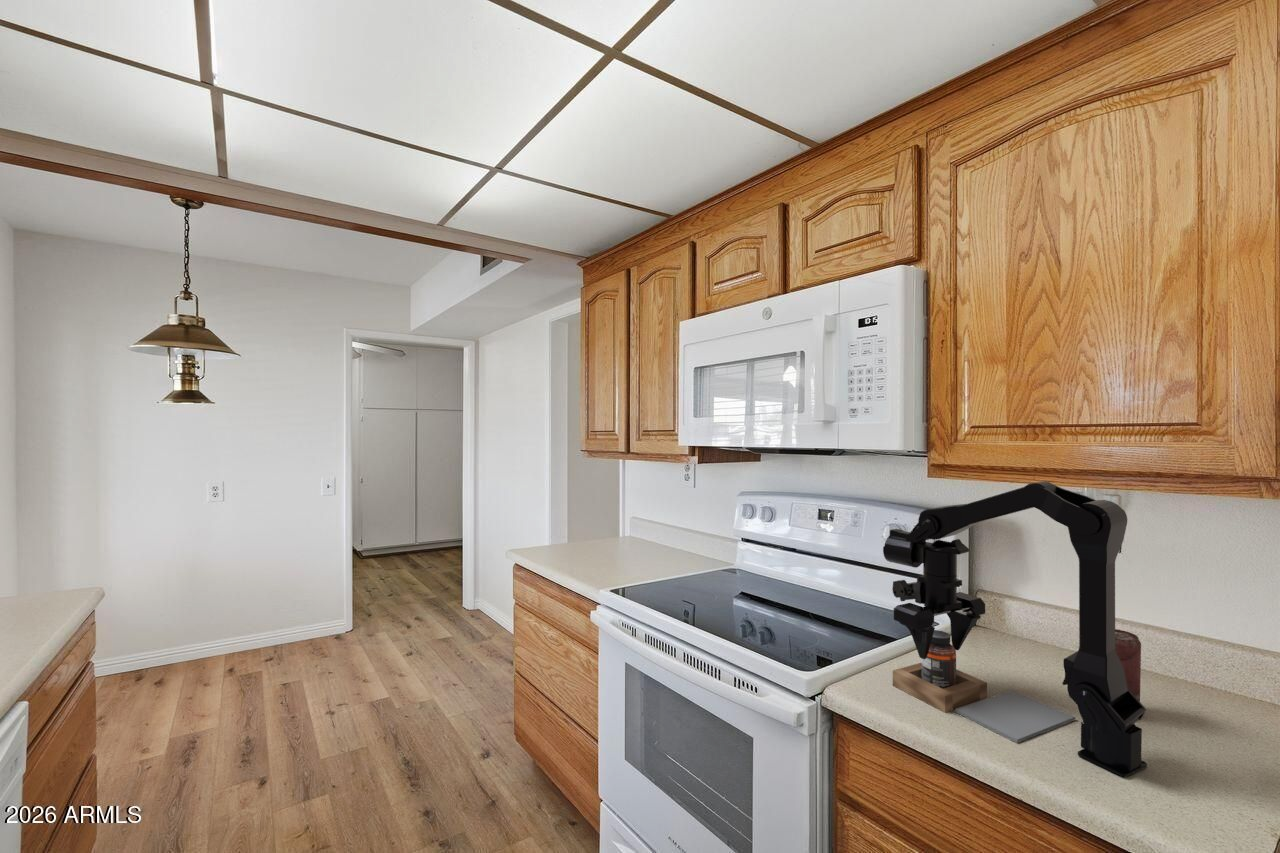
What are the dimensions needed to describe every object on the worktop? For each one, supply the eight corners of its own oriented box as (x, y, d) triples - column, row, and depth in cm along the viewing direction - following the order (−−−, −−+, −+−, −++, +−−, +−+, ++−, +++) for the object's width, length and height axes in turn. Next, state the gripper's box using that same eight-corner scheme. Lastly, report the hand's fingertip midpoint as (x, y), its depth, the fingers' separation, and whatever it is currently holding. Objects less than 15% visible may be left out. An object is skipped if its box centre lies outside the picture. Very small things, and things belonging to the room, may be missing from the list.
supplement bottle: (948, 685, 117) (948, 628, 116) (961, 700, 111) (962, 640, 110) (916, 684, 117) (917, 627, 117) (928, 699, 111) (928, 639, 111)
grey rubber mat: (1075, 720, 103) (1075, 716, 103) (1016, 743, 96) (1016, 739, 96) (1012, 692, 113) (1012, 689, 113) (955, 712, 106) (955, 708, 106)
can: (1091, 710, 107) (1092, 633, 106) (1100, 699, 111) (1102, 624, 110) (1134, 724, 102) (1136, 643, 101) (1143, 711, 106) (1144, 634, 106)
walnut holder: (986, 698, 111) (987, 682, 111) (944, 712, 106) (945, 695, 106) (933, 673, 122) (933, 659, 122) (892, 685, 117) (892, 670, 117)
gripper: (936, 557, 124) (936, 631, 125) (870, 569, 116) (870, 647, 117) (987, 570, 114) (986, 650, 115) (919, 583, 106) (919, 670, 107)
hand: (939, 653), depth 114 cm, fingers open, 9 cm apart
